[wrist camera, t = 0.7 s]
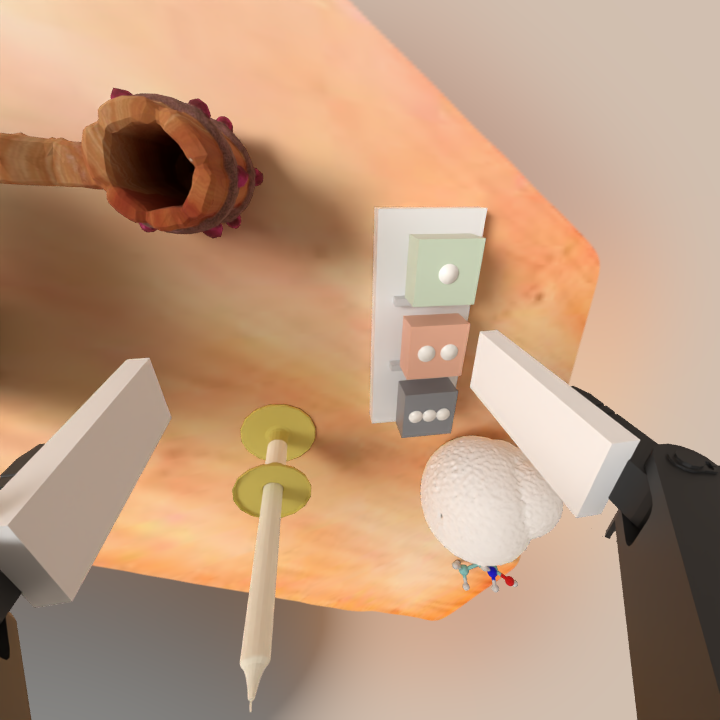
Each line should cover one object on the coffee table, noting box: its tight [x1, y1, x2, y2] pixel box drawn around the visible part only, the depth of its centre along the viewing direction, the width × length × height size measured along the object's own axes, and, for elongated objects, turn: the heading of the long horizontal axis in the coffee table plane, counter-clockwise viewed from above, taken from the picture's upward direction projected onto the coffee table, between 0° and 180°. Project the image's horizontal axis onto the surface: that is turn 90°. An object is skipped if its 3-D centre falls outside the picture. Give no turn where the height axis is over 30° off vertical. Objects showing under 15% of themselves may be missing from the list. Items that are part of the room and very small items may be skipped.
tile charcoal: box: [396, 377, 458, 438], centre depth 38 cm, size 6×6×3 cm
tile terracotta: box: [400, 313, 470, 380], centre depth 35 cm, size 6×6×3 cm
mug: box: [0, 88, 263, 238], centre depth 23 cm, size 15×8×15 cm, turn 85°
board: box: [370, 207, 487, 423], centre depth 38 cm, size 11×26×3 cm, turn 0°
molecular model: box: [452, 560, 518, 592], centre depth 63 cm, size 12×10×10 cm
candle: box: [232, 404, 315, 712], centre depth 33 cm, size 10×10×27 cm
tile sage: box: [405, 233, 486, 307], centre depth 31 cm, size 6×6×3 cm
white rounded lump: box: [420, 435, 563, 567], centre depth 45 cm, size 20×18×16 cm
